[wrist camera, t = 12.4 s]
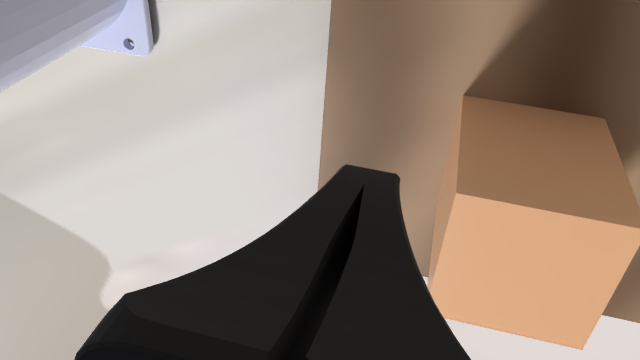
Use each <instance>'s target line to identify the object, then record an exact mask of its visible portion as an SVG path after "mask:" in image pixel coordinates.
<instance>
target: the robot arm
mask: <svg viewBox="0 0 640 360" xmlns="http://www.w3.org/2000/svg"><path fill="white" fill-rule="evenodd" d="M128 38H129V39H131V40H132V41H133V43H134V46H131V45H130V43H129V41H128ZM78 46H82V47H88V48H94V49H100V50H106V51H112V52H119V53H125V54H131V55H137V56H146V55H148V54H149V53H151V52H152V50H153V47H154V43H153V35H152V27H151V19H150V11H149V3H148V0H0V92H2V91H4V90H5V89H7V88H9V87H11V86H12V85H14V84H16V83H17V82H19V81H21V80H22V79H24V78H26V77H27V76H29V75H31V74H32V73H34V72H36V71H37V70H39V69H41V68H43V67H44V66H46V65H48V64H49V63H51V62H53V61H54V60H56V59H58V58H59V57H61V56H63V55H64V54H66V53H68V52H69V51H71V50H73V49H74V48H76V47H78ZM75 360H471V359H470V357H469V356H468V355H467V353H466V352H465V350H464V349H463V347H462V346H461V345H460V343H459V342H458V340H457V339H456V337H455V336H454V334H453V333H452V331H451V329H450V328H449V326H448V324H447V323H446V321H445V319H444V318H443V316H442V314H441V312H440V311H439V309H438V307H437V306H436V304H435V302H434V300H433V298H432V296H431V294H430V292H429V290H428V288H427V286H426V284H425V281H424V279H423V277H422V275H421V272H420V270H419V267H418V265H417V262H416V259H415V257H414V254H413V251H412V248H411V245H410V242H409V238H408V235H407V231H406V227H405V223H404V218H403V214H402V208H401V201H400V178H399V176H398V175H397V174H395V173H390V172H385V171H379V170H374V169H369V168H364V167H358V166H353V165H348V164H346V165H344V166H342V167H341V168H340V169H339V170H338V171H337V173H336V174H335V175H334V176H333V177H332V178H331V179H330V180H329V181H328V182H327V183H326V184H325V185H324V186H323V187H322V188H321V189H320V190H319V191H318V192H317V193H316V194H314V195H313V196H312V197H311V198H310V199H309V200H308V201H307V202H305V203H304V204H303V205H302V206H301V207H300V208H299V209H297V210H296V211H295V212H294V213H292V214H291V215H290V216H288V217H287V218H286V219H285V220H283V221H282V222H281V223H279V224H278V225H277V226H275V227H274V228H273V229H271V230H270V231H268V232H267V233H265V234H264V235H262V236H261V237H259V238H258V239H256V240H254V241H253V242H251V243H250V244H248V245H246V246H245V247H243V248H241V249H239V250H237V251H235V252H234V253H232V254H230V255H228V256H226V257H224V258H222V259H220V260H218V261H216V262H214V263H212V264H210V265H207V266H205V267H203V268H200V269H198V270H196V271H193V272H191V273H188V274H185V275H183V276H180V277H178V278H175V279H172V280H169V281H166V282H163V283H160V284H157V285H153V286H150V287H147V288H144V289H140V290H137V291H134V292H130V293H126V294H125V295H124V296H123V297H122V298H121V299H120V300H119V301H118V302H117V303H116V304H115V305H114V307H113V308H112V309H111V310H110V311H109V312H108V313H107V315H106V316H105V317H104V318H103V319H102V321H101V322H100V323H99V324H98V326H97V327H96V328H95V330H94V331H93V332H92V334H91V335H90V336H89V338H88V339H87V340H86V342H85V343H84V344H83V346H82V347H81V348H80V350H79V351H78V352H77V354H76V357H75Z"/></svg>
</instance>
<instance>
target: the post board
mask: <svg viewBox="0 0 640 360" xmlns="http://www.w3.org/2000/svg"><path fill="white" fill-rule="evenodd" d="M463 95H465V96H471V97H477V98H483V99H489V100H495V101H501V102H507V103H514V104H520V105H526V106H532V107H538V108H544V109H550V110H556V111H562V112H568V113H574V114H580V115H586V116H592V117H599V118H605V120H606V123H607V125H608V128H609V131H610V133H611V136H612V138H613V141H614V143H615V146H616V149H617V151H618V154H619V156H620V159H621V162H622V164H623V167H624V169H625V172H626V174H627V177H628V180H629V182H630V185H631V187H632V190H633V193H634V195H635V198H636V200H637V203H638V205H639V208H640V0H332V2H331V16H330V30H329V44H328V58H327V72H326V85H325V99H324V113H323V127H322V141H321V155H320V169H319V183H318V191H319V190H320V189H321V188H322V187H323V186H324V185H325V184H326V183H327V182H328V181H329V180H330V179H331V178H332V177H333V176H334V175H335V174H336V173H337V171H338V170H339V169H340V168H341V167H342V166H344V165H346V164H348V165H353V166H358V167H364V168H369V169H374V170H379V171H385V172H390V173H395V174H397V175H398V176H399V178H400V201H401V208H402V214H403V218H404V223H405V227H406V231H407V235H408V238H409V242H410V245H411V248H412V251H413V254H414V257H415V259H416V262H417V265H418V267H419V270H420V272H421V275H422V276H425V277H429V268H430V259H431V251H432V242H433V234H434V225H435V217H436V208H437V200H438V196H439V192H440V188H441V184H442V180H443V176H444V172H445V167H446V163H447V159H448V155H449V151H450V147H451V143H452V138H453V134H454V130H455V126H456V122H457V118H458V114H459V109H460V105H461V101H462V97H463ZM602 315H605V316H610V317H614V318H619V319H624V320H628V321H633V322H637V323H640V246H639V248H638V250H637V251H636V253H635V255H634V257H633V259H632V260H631V262H630V264H629V266H628V268H627V269H626V271H625V273H624V275H623V277H622V279H621V280H620V282H619V284H618V286H617V288H616V289H615V291H614V293H613V295H612V297H611V299H610V300H609V302H608V304H607V306H606V308H605V309H604V311H603V313H602Z"/></svg>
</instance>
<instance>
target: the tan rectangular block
mask: <svg viewBox="0 0 640 360" xmlns="http://www.w3.org/2000/svg"><path fill="white" fill-rule="evenodd" d="M639 246H640V208H639V205H638V203H637V200H636V198H635V195H634V193H633V190H632V187H631V185H630V182H629V180H628V177H627V174H626V172H625V169H624V167H623V164H622V162H621V159H620V156H619V154H618V151H617V149H616V146H615V143H614V141H613V138H612V136H611V133H610V131H609V128H608V125H607V123H606V120H605V118H599V117H592V116H586V115H580V114H574V113H568V112H562V111H556V110H550V109H544V108H538V107H532V106H526V105H520V104H514V103H507V102H501V101H495V100H489V99H483V98H477V97H471V96H465V95H463V97H462V101H461V105H460V109H459V114H458V118H457V122H456V126H455V130H454V134H453V138H452V143H451V147H450V151H449V155H448V159H447V163H446V167H445V172H444V176H443V180H442V184H441V188H440V192H439V196H438V200H437V208H436V217H435V225H434V234H433V242H432V251H431V259H430V268H429V277H428V285H427V288H428V290H429V292H430V294H431V296H432V298H433V300H434V302H435V304H436V306H437V307H438V309H439V311H440V312H441V314H442V316H443V318H446V319H451V320H455V321H459V322H464V323H468V324H472V325H477V326H481V327H485V328H490V329H494V330H498V331H503V332H507V333H511V334H515V335H520V336H524V337H528V338H533V339H537V340H541V341H546V342H550V343H554V344H559V345H563V346H567V347H572V348H576V349H580V350H582V349H583V348H584V346H585V344H586V342H587V340H588V338H589V337H590V335H591V333H592V331H593V329H594V328H595V326H596V324H597V322H598V320H599V318H600V317H601V315H602V313H603V311H604V309H605V308H606V306H607V304H608V302H609V300H610V299H611V297H612V295H613V293H614V291H615V289H616V288H617V286H618V284H619V282H620V280H621V279H622V277H623V275H624V273H625V271H626V269H627V268H628V266H629V264H630V262H631V260H632V259H633V257H634V255H635V253H636V251H637V250H638V248H639Z"/></svg>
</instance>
